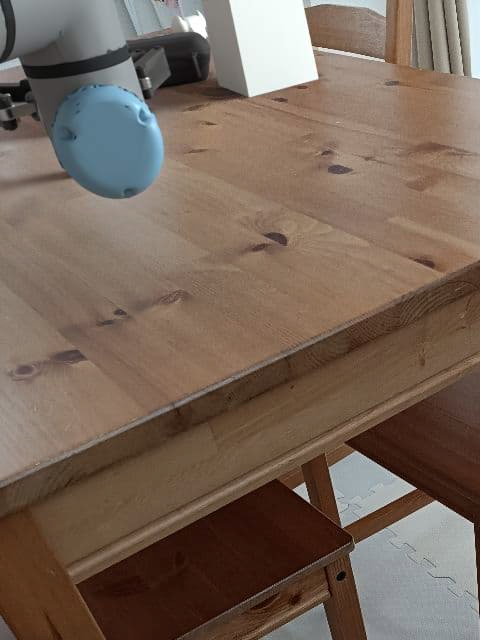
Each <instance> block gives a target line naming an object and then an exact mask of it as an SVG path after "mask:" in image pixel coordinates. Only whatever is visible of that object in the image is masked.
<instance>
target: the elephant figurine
mask: <svg viewBox="0 0 480 640" xmlns="http://www.w3.org/2000/svg"><path fill="white" fill-rule="evenodd" d="M170 28H171V31H172V33H178V32H197V33H199V34H201V35H202V36H203V37H204V38H205V39H206V40H207V38H209V35H208V32H207V31H206V28H207V24H206V19H205V16H203V14H202V13H201V12H200V11H199V10H197V9H196V10H194V11H193V14H192V15H187V16H183V17H180V16H179V15H174V16H173V17H172V19H171V23H170Z"/></svg>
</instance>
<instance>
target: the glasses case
mask: <svg viewBox="0 0 480 640" xmlns="http://www.w3.org/2000/svg"><path fill="white" fill-rule="evenodd" d="M125 41H126V42H127V43H128V47H129V49H131V51H132V52H133V51H135V50H136V49H140V50H144V51H145V54H146V53H147V52H148V51H150V50H151V49H152V48H154V47H155V46H161V47H163V48H164V52H165V55H166V59H167V63H168V66H169V70H170V74H171V75H170V76H169V77H168V78H167V79H166V80H165V81H164V82H163V83H162V84H161V85H160V86H159V87H158V88H162V87H169V86H175V85H183V84H189V83H190V84H191V83H196V82H202V81H204V80H206V79H208V77H209V74H210V63H211V55H212V49H211V44H210V42H209V41H208V40H207V38H206V39H205V38H204V37H203V36H202V35H201V34H199V33H197V32H178V33H173V32H167V33H162V34H161V33H160V34H155V35H149V36H143V37H136V38H131V39H127V40H126V39H125Z"/></svg>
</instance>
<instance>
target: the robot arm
mask: <svg viewBox="0 0 480 640" xmlns="http://www.w3.org/2000/svg"><path fill="white" fill-rule="evenodd" d="M16 59H18V60H19V63H20V64H21V67H22V71H23V72H24V76H26V78H23V79H19V82H0V127H1V128H2V129H3V130H4V131H8V132H13V131H16V130H17V129H18V128H19V125H22V120H21V118H23V117H27V116H31V118H32V119H33V120H34V121H36V122H40V123H41V125H42V127H43V129H44V130H45V133H46V134H47V136H48V138H49V140H50V142H51V146H52V148H53V150H54V154H55V157H56V158H57V161H58V164H59V166H60V168H61V169H63V170H65V171H66V174H67V175H68V176H70V177H71V178H72V179H73V181H74V182H76V183H77V184H78V185H79V186H80V187H81V188H83V189H84V190H86V191H87V192H90V193H92V194H93V195H96V196H98V197H100V198H106V199H110V200H111V199H112V200H123V199H131V198H132V197H135V196H137V195H139V194H141V193H143V192H144V191H146V190H147V189H149V187H151V186H152V185H153V183H155V181H156V179H157V178H158V176H159V174H160V171H161V169H162V166H163V163H164V156H165V155H164V154H165V149H164V140H163V135H162V133H161V129H160V126H159V125H158V121H157V118H156V116H155V114H154V113H153V112H152V111H151V110H150V109H149V105H148V104H147V103H146V100H147V101H149V100H152V99H153V98H155V91H156V90H157V89H158V88H160V87H159V86H160V85H161V84H162V83H163V82H164V81H165V80H166V79H167V78H168V77H169V76H170V75H171V74H170V70H169V66H168V63H167V59H166V55H165V52H164V48H163V47H161V46H155V47H154V48H152V49H151V50H150V51H148V52H147V53H146V54H145V51H144V50H140V49H136V50H135V51H133V52H132V51H131V49H129V48H128V47H127V45H126V38H125V34H124V30H123V27H122V23H121V20H120V17H119V14H118V10H117V6H116V3H115V0H0V65H1V64H5V63H7V62H10V61H13V60H16ZM144 100H145V101H144ZM145 103H146V104H145Z"/></svg>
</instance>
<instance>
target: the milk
mask: <svg viewBox="0 0 480 640" xmlns="http://www.w3.org/2000/svg"><path fill="white" fill-rule="evenodd" d="M201 4H202V9H203V14H204V19H205V21H206V28H207V35H208V39H209V45H210V50H211V55H212V59H213V63H214V68H215V74H216V78H217V84H218V86H219V87H222V88H224V89H227V90H229V91H232V92H234V93H237V94H239V95H242V96H245V97H247V98H252V97H256V96H260V95H263V94H268V93H271V92H275V91H279V90H283V89H287V88H291V87H293V86H298V85H303V84H305V83H309V82H313V81H317V80H319V74H318V67H317V64H316V60H315V59H316V58H315V54H314V50H313V44H312V40H311V35H310V30H309V25H308V22H307V21H308V20H307V16H306V11H305V6H304V1H303V0H201Z"/></svg>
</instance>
